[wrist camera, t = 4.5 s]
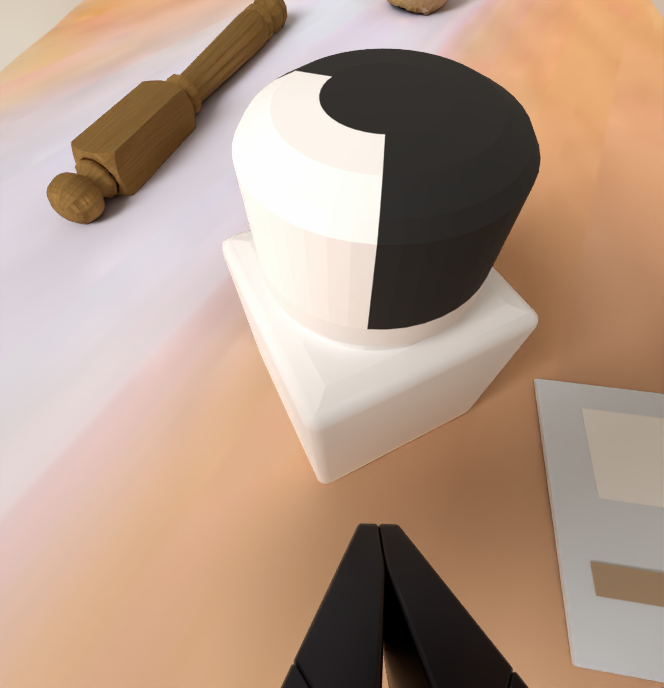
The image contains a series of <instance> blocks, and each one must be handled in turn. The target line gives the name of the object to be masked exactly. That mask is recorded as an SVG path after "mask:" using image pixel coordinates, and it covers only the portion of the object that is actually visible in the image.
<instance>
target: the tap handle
mask: <svg viewBox="0 0 664 688" xmlns="http://www.w3.org/2000/svg"><path fill="white" fill-rule="evenodd" d="M286 18H287V9H286V5H285V3H284V1H283V0H255V1H254V3H253V4H251V5H249V6H248V7H247V8H246V9H245V10H244V11H243V12H241V13H240V14H239V15H238V16H237V17H236V18H235V19H234V20H233V21H232V22H231V23H230V24H229V25H228V26H227V27H226V28H225V29H224V30H223V31H222V32H221V33H220V34H219V35H218V36H217V37H216V38H215V40H214V41H213V42H212V43H211V44H210V45H209V46H208V47H207V48H206V49H205V50H204V51H203V52H202V53H201V54H200V55H199V56H198V57H197V58H196V59H195V60H194V61H193V62H192V63H191V64H190V65H189V66H188V67H187V68H186V69H185V70H184V71H183V72H182V73H181V74H180V75H176V74H173V75H172V76H170V77H169V78H168V79H167V80H166V81H161V80H156V81H144V82H142V83H141V84H139V85H138V86H137V87H136V88H135V89H133V90H132V91H131V92H130V93H129V94H127V95H126V96H125V97H124V98H123V99H122V100H120V101H119V102H118V103H117V104H116V105H114V106H113V107H112V108H111V109H110V110H108V111H107V112H106V113H105V114H104V115H102V116H101V117H100V118H99V119H98V120H97V121H95V122H94V123H93V124H92V125H91V126H89V127H88V128H87V129H86V130H85V131H83V132H82V133H81V134H80V135H79V136H78V137H76V138H75V139H74V140H73V141H72V142H71V146H72V152H73V156H74V159H75V162H76V166H75V168H76V171H77V174H75V173H68V172H66V173H61V174H59V175H57V176H56V177H55V178H54V179H53V180H52V181H51V183H50V184H49V186H48V188H47V197H48V200H49V202H50V204H51V206H52V208H53V209H54V210H55V211H56V212H57V213H58V214H59V215H60V216H62V217H64V218H65V219H67V220H69V221H72V222H76V223H80V224H87V223H90V222H92V221H94V220H95V219H96V218H98V217H99V216H100V215H101V214H102V213H103V211H104V207H105V203H104V199H103V197H108V198H112V197H113V196H114V195H120V196H130V195H134V194H135V193H136V192H137V191H138V190H139V189H140V188H141V187H142V186H143V185H144V183H145V182H146V181H147V180H148V179H149V178H150V177H151V176H152V175H153V174H154V173H155V172H156V171H157V169H158V168H159V167H160V166H161V165H162V164H163V163H164V162H165V161H166V160H167V159H168V158H169V156H170V155H171V154H172V153H173V152H174V151H175V150H176V149H177V148H178V147H179V146H180V145H181V143H182V142H183V141H184V140H185V139H186V138H187V137H188V136H189V135H190V134H191V133H192V132H193V131H194V129H195V128H196V119H195V114H197V113H198V112H200V110H201V106H202V101H203V100H205V99H206V98H207V97H208V96H209V95H210V94H211V93H212V92H213V91H215V90H216V89H217V88H218V87H219V86H220V85H221V84H222V83H223V82H225V81H226V80H227V79H228V78H229V77H230V76H231V75H232V74H233V73H235V72H236V71H237V70H238V69H239V68H240V67H241V66H242V65H243V64H245V63H246V62H247V61H248V60H249V59H250V58H251V57H252V56H253V55H255V54H256V53H257V52H258V51H259V50H260V49H261V48H262V47H263V46H265V44H266V42H267V41H269V40H270V39H271V37H272V34H274V33H276V32H278V31H279V30H280V28H281V27H282V26H284V24H285V21H286ZM108 171H110V173H111V174H112V175H113V176H114V177H115V179H116V181H117V182H118V184H119V193H117V186H116V182H115V180H114V178H113V177H112V176H111V175H110V174H109V172H108ZM116 193H117V194H116Z"/></svg>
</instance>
